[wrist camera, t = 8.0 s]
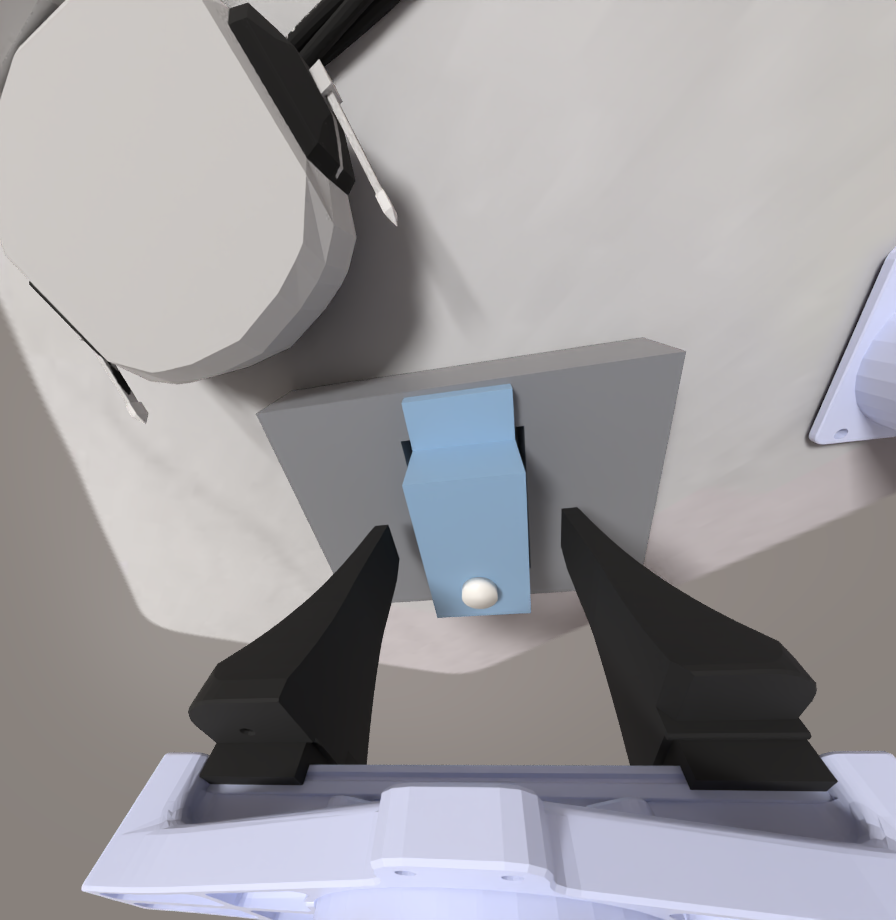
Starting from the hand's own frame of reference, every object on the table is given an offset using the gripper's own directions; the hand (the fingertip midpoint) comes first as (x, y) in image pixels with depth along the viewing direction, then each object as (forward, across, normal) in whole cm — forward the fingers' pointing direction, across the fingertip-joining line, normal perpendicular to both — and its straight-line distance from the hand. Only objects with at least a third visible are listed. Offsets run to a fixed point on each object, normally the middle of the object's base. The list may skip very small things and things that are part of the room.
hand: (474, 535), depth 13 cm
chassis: (+4, 0, 0) cm, 5 cm away
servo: (+4, 0, 0) cm, 4 cm away
